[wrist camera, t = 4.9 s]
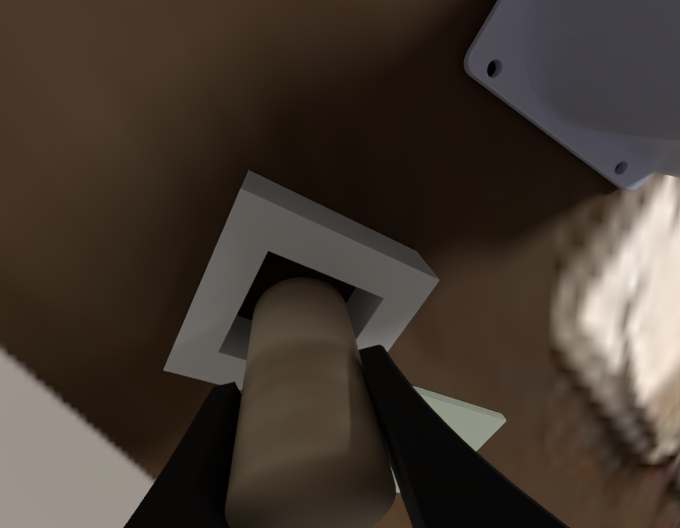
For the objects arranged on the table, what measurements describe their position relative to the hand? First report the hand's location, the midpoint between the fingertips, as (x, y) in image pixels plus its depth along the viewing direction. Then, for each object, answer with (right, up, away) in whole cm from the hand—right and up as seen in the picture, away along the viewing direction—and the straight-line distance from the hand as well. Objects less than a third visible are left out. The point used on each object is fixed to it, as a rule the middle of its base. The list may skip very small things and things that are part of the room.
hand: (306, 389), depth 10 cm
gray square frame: (-1, +2, +5) cm, 6 cm away
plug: (0, +2, +3) cm, 3 cm away
